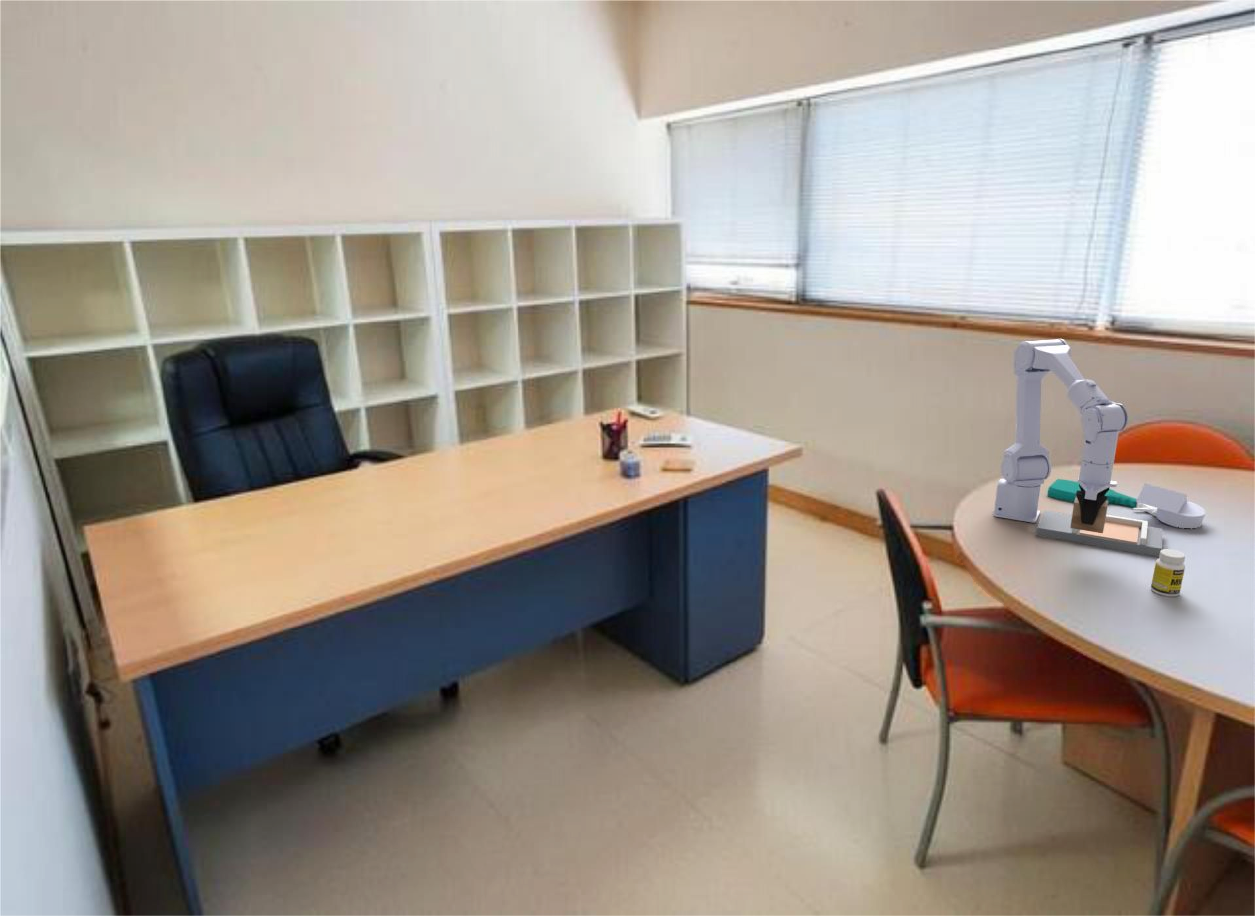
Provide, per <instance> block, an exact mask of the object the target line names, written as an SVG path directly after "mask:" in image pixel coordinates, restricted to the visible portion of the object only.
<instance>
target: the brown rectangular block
mask: <svg viewBox="0 0 1255 916" xmlns="http://www.w3.org/2000/svg"><path fill="white" fill-rule="evenodd" d="M1108 505H1109V503H1108V501H1105V502H1104V503H1103V505H1102V506H1101V508H1100V509H1099V512H1098V514H1097V517H1096V520H1095V522H1094V524H1093V525H1089V524H1083V523H1082V522H1081V511H1080V505H1079V501H1078V499H1077V497H1076V498H1075V501H1074V502H1073V508H1072V520H1071V527H1070V528H1073V529H1079V530H1085V531H1091V532H1097V533H1103V530H1104V525H1105V519H1106V515H1107V511H1108Z"/></svg>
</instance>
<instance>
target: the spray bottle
mask: <svg viewBox="0 0 1255 916" xmlns="http://www.w3.org/2000/svg"><path fill="white" fill-rule="evenodd" d="M1077 490H1078V491H1081V490H1080V487H1079V483H1078V481H1074V480H1070V479H1069V480H1068V479H1063V478H1057V479H1055V481H1053V483H1052V484H1051V485H1049V486H1048V489H1047V497H1050V498H1053V499H1055V500H1056V499H1057V500H1060V501H1065V502H1070V503H1074V501H1075V498H1076V492H1077ZM1105 496H1108V497H1107V500H1106V501H1108V504H1115V505H1119V504H1121V505H1120V506H1123V507H1129V506H1130V507H1129V508H1131V509H1132V510H1133V511H1140V512H1147V513H1148V514H1150V515H1152V517H1156V512H1157V509H1158V508H1156V507H1152V506H1149V505H1146V504H1142V503H1139V502H1136V501H1137V499H1138V498H1135V497H1132V496H1129V495H1126V494H1123V493H1121V492H1117V491H1116V490H1113V489H1112V488H1109V491H1108V492H1107V493H1106V494H1105Z"/></svg>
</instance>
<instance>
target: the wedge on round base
mask: <svg viewBox="0 0 1255 916" xmlns="http://www.w3.org/2000/svg"><path fill="white" fill-rule="evenodd" d="M1187 497H1188V496H1187V494H1185V493H1182V492H1178V491H1175V490H1173V489H1172V490H1171V489H1168V488H1164V487H1161V486H1156V485H1152V484H1148V483H1146V482H1145V483H1144V484H1143V487H1142V489H1141V491H1140V493H1139V495H1138V497H1137V498H1136V499H1137V501H1136V502H1139V503H1142V504H1146V505H1149V506H1152V507H1156V508H1158V509H1157V512H1156V516H1155V517H1156V518H1157V519H1158V520H1160V522H1162V523H1164V524H1167V526H1168V525H1169V526H1172V527H1174V528H1178V527H1179V528H1178V529H1184V528H1191V529H1190V530H1193V529H1192V528H1196V529H1198V528H1197V527H1199V528H1201V526H1202V524H1203V520H1204V518H1205V515H1206V510H1205V509H1204V508H1203V507H1202V506H1200V505H1199V504H1197V503H1194V502H1192V501H1189V500H1187Z"/></svg>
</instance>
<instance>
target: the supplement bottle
mask: <svg viewBox="0 0 1255 916" xmlns="http://www.w3.org/2000/svg"><path fill="white" fill-rule="evenodd" d="M1185 559H1186V555H1185V553H1183V552H1182V551H1180V550H1176V549H1171V548H1166V549H1165V548H1163V549H1162V550H1161V551H1160V555H1159V558H1157V559H1156V561H1155V563H1154V570H1153V574H1152V580H1151V583H1150V590H1151V591H1152V592H1154V593H1155V594H1158V595H1161V596H1163V597H1168V598H1169V597H1172V598H1173V597H1177V596H1179V595H1180V593H1181V589H1182V583H1183V578H1184V574H1185V570H1186V565H1185Z"/></svg>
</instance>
